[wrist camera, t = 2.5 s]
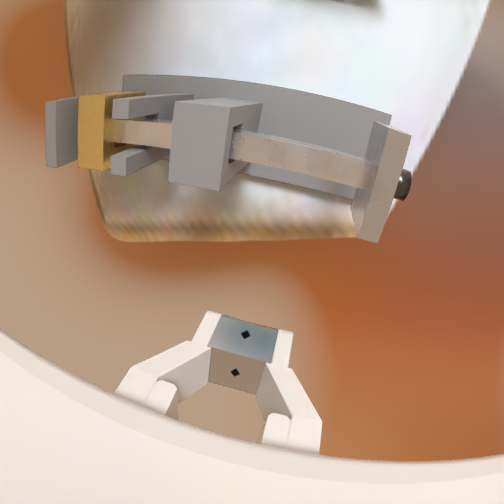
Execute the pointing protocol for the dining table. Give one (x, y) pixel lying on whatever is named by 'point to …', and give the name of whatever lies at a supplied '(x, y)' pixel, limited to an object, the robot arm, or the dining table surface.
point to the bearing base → (219, 128)
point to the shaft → (311, 163)
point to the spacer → (99, 130)
